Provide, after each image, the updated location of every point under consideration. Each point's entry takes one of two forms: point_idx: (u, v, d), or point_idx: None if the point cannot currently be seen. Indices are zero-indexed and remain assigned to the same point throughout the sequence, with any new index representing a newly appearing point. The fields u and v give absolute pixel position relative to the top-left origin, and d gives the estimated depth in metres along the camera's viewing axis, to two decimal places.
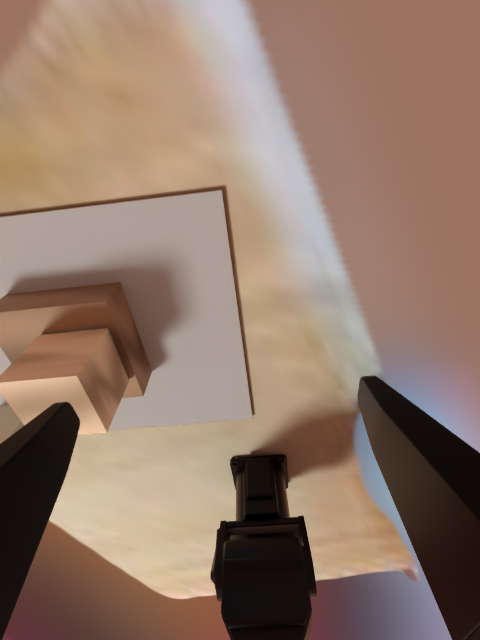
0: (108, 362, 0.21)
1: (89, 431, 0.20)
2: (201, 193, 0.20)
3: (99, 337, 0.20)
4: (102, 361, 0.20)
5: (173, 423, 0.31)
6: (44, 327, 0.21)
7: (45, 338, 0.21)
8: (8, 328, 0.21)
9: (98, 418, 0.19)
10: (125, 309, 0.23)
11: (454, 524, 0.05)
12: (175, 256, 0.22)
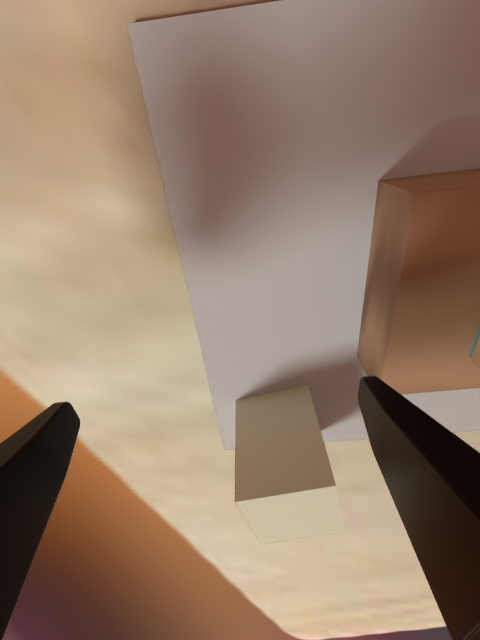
0: None
1: None
2: None
3: None
4: None
5: None
6: None
7: None
8: (453, 231, 0.10)
9: None
10: None
11: (454, 524, 0.05)
12: None
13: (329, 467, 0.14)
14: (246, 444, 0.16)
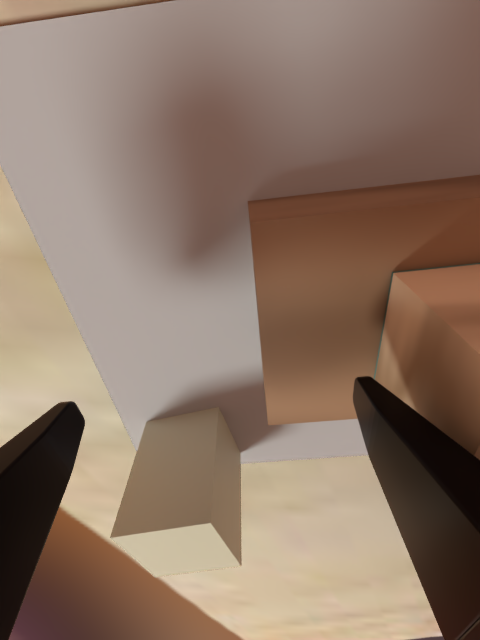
0: None
1: None
2: None
3: None
4: None
5: None
6: (382, 259, 0.09)
7: (427, 277, 0.09)
8: (301, 260, 0.09)
9: None
10: None
11: (445, 525, 0.05)
12: None
13: (210, 501, 0.13)
14: (141, 471, 0.15)
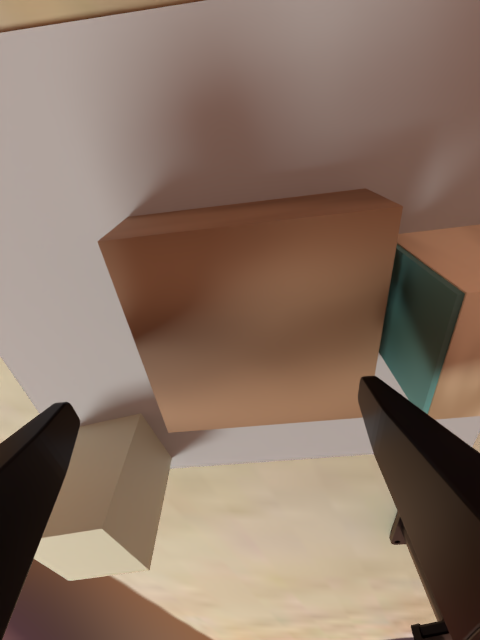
0: None
1: None
2: None
3: (415, 233, 0.12)
4: None
5: (342, 453, 0.20)
6: (235, 275, 0.10)
7: (469, 278, 0.09)
8: (156, 276, 0.10)
9: None
10: None
11: (454, 524, 0.05)
12: None
13: (107, 507, 0.13)
14: None
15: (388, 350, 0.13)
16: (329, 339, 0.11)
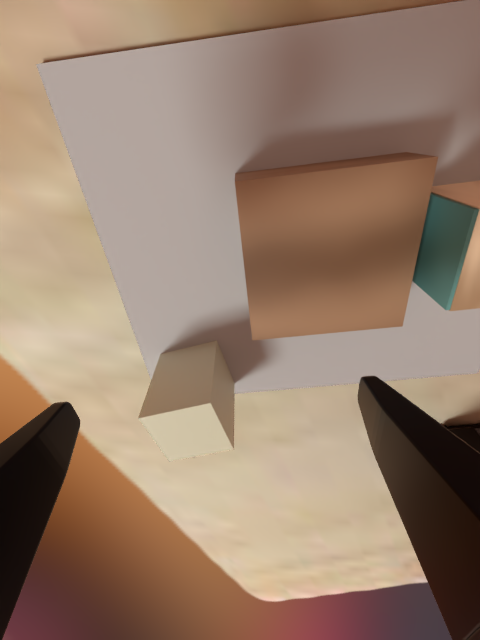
0: None
1: None
2: None
3: (440, 186, 0.17)
4: None
5: None
6: (321, 206, 0.14)
7: None
8: (268, 207, 0.14)
9: None
10: None
11: (454, 524, 0.05)
12: None
13: (210, 392, 0.18)
14: (158, 382, 0.20)
15: (419, 273, 0.17)
16: (380, 258, 0.16)
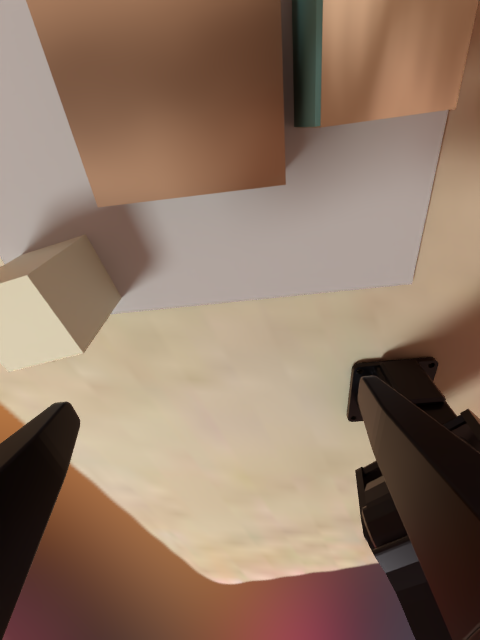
0: None
1: None
2: None
3: None
4: None
5: (287, 292, 0.20)
6: None
7: None
8: None
9: None
10: None
11: (454, 524, 0.05)
12: None
13: (36, 268, 0.14)
14: None
15: (300, 107, 0.13)
16: (233, 65, 0.12)
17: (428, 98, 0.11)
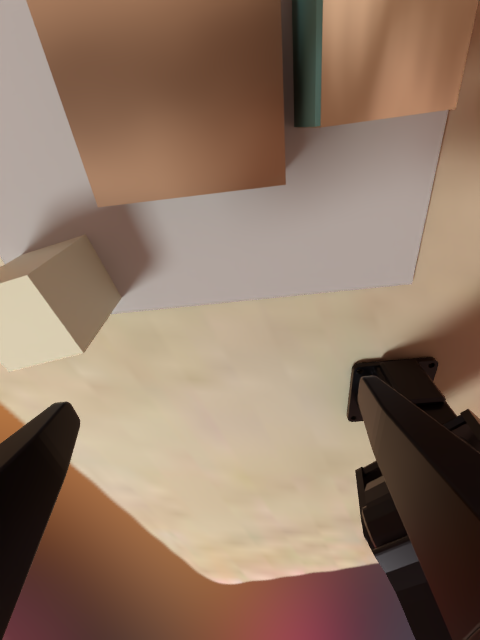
0: None
1: None
2: None
3: None
4: None
5: (287, 292, 0.20)
6: None
7: None
8: None
9: None
10: None
11: (454, 524, 0.05)
12: None
13: (36, 268, 0.14)
14: None
15: (301, 107, 0.13)
16: (233, 65, 0.12)
17: (428, 98, 0.11)
